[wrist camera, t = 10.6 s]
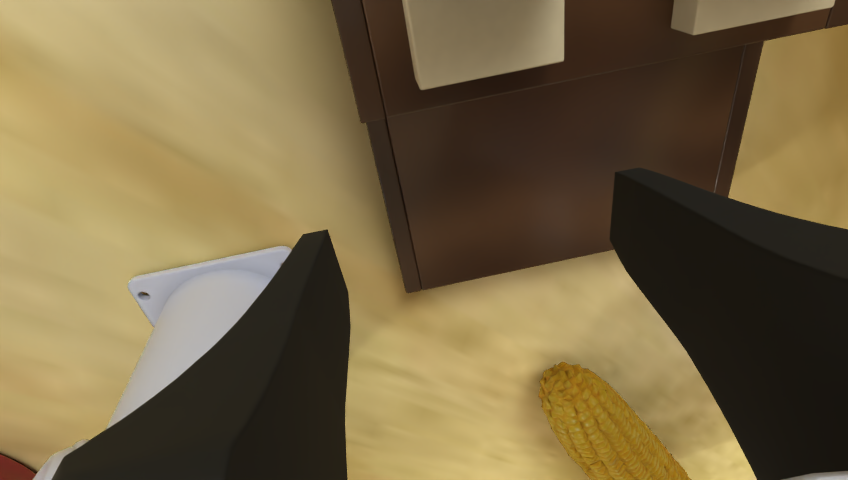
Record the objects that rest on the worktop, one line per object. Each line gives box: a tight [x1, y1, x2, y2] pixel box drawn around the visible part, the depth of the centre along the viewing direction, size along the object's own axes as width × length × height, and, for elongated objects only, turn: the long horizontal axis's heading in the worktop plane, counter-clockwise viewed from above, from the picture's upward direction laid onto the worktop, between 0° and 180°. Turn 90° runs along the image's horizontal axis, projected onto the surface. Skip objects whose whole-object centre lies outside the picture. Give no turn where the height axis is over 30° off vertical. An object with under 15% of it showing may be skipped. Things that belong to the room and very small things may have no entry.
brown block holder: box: [331, 0, 848, 293], centre depth 18 cm, size 20×16×6 cm
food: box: [539, 362, 691, 480], centre depth 33 cm, size 21×6×6 cm, turn 37°
